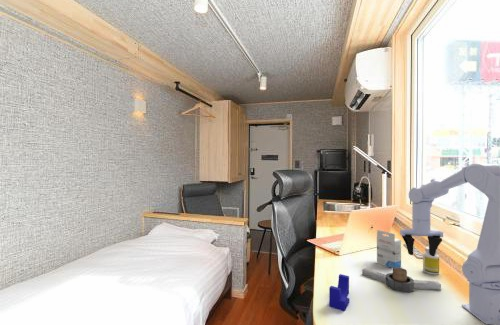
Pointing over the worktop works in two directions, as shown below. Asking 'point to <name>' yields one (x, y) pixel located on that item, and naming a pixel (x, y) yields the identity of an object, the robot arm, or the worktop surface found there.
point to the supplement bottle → (430, 262)
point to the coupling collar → (402, 286)
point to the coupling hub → (399, 274)
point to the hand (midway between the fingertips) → (421, 254)
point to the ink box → (388, 249)
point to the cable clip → (339, 294)
